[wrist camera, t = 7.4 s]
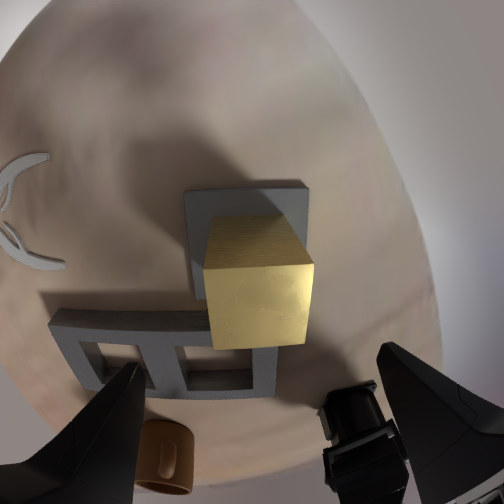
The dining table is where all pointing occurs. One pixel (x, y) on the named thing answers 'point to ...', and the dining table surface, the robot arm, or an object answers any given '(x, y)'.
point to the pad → (238, 204)
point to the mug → (165, 458)
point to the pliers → (8, 245)
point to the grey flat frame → (158, 353)
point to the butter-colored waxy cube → (256, 282)
